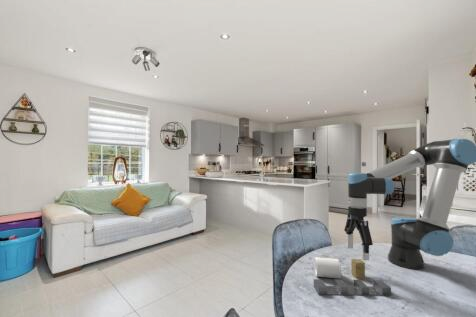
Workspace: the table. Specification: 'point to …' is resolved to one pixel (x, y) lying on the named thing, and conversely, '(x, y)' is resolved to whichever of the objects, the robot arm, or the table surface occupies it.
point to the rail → (352, 288)
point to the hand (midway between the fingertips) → (357, 253)
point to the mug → (327, 267)
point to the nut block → (358, 268)
